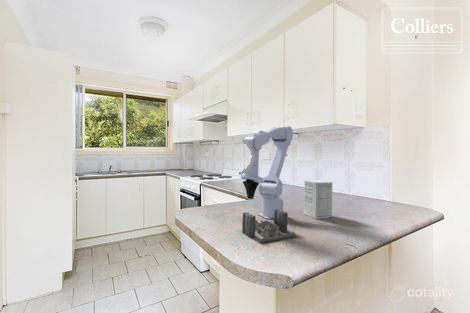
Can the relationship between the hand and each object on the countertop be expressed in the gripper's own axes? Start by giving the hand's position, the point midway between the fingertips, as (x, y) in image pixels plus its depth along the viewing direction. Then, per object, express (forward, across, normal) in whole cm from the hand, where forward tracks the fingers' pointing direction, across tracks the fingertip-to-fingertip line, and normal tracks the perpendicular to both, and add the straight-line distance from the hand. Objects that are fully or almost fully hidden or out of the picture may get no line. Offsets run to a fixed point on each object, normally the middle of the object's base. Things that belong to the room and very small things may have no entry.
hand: (250, 198), depth 91 cm
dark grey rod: (+10, +19, 0) cm, 22 cm away
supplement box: (+10, +2, +36) cm, 38 cm away
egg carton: (+11, +11, +1) cm, 15 cm away
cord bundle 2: (+10, +11, +7) cm, 17 cm away
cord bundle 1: (+10, +11, -7) cm, 17 cm away
